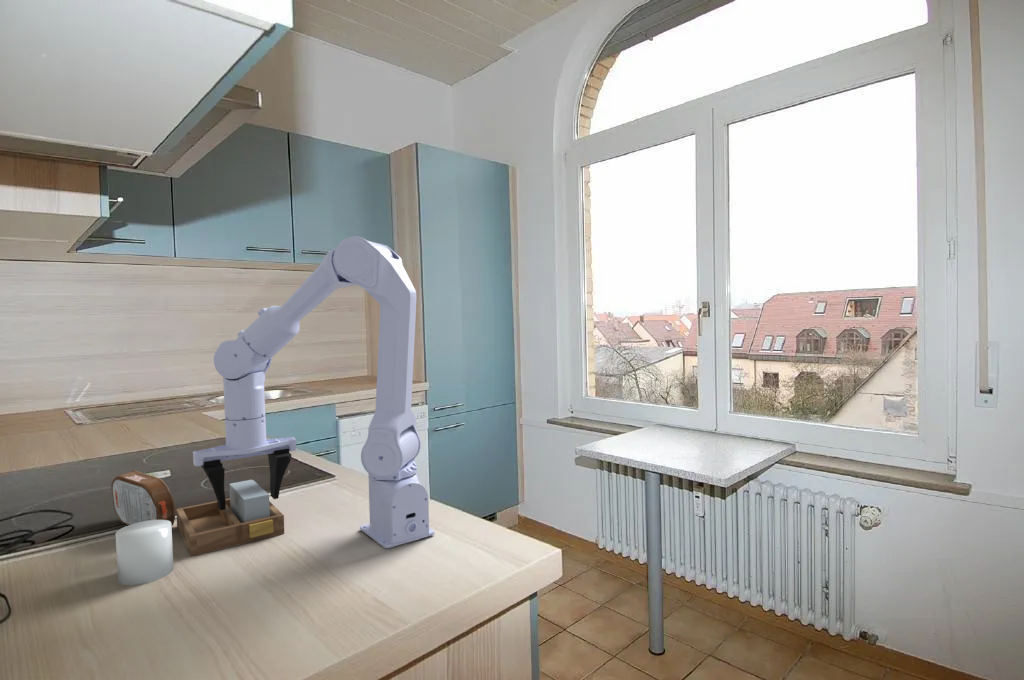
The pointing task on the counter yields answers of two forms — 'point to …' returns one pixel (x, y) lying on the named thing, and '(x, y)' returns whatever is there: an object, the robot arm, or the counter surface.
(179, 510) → the tray
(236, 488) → the grey rectangular block
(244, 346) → the robot arm
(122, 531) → the white rounded pillar
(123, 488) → the tin
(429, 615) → the counter surface
